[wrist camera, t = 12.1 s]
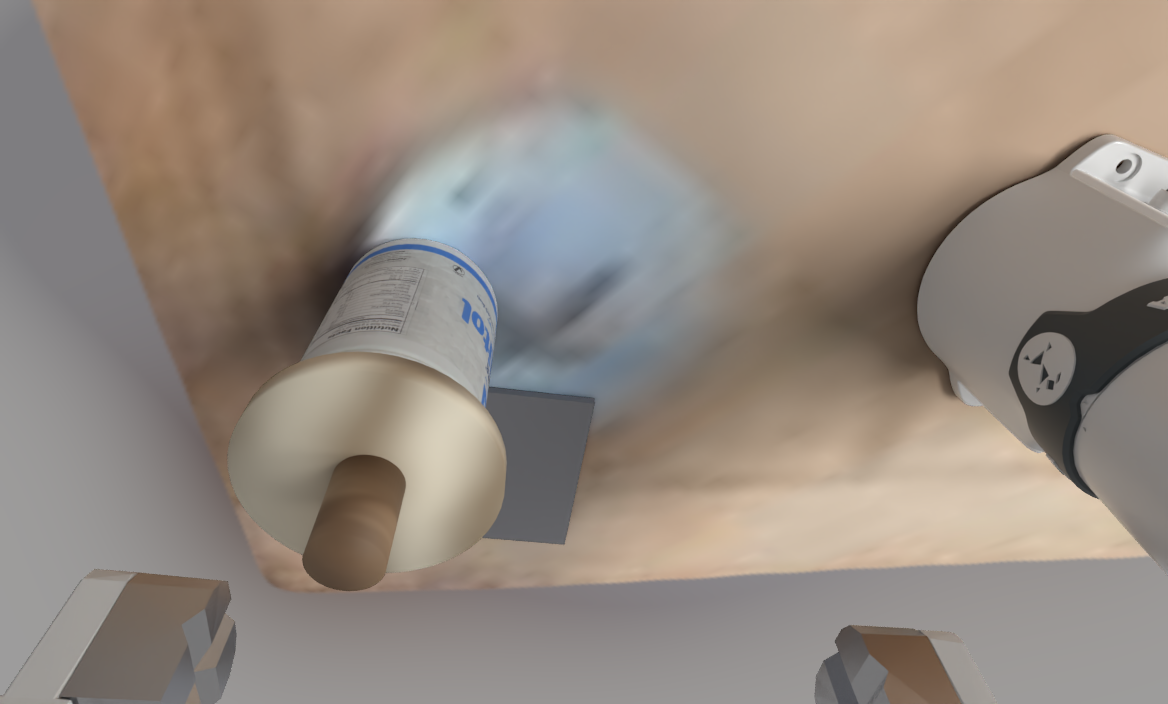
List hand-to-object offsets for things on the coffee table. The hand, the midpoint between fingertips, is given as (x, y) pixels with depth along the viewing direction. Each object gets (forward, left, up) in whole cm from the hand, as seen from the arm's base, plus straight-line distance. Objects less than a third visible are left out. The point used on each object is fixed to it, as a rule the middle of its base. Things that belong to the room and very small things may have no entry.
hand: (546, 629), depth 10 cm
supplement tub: (+6, +15, -34) cm, 38 cm away
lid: (+6, +15, -20) cm, 25 cm away
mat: (+1, +28, -34) cm, 44 cm away
